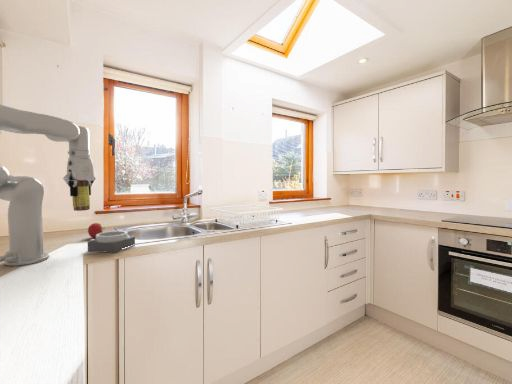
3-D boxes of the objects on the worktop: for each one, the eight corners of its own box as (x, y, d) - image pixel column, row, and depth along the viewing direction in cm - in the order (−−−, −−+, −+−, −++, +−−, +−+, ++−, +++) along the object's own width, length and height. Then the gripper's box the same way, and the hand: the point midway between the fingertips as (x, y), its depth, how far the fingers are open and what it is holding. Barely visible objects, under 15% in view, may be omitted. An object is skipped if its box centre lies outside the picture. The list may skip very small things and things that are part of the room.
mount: (114, 252, 108) (114, 237, 107) (87, 251, 110) (87, 236, 110) (134, 245, 121) (134, 231, 120) (110, 243, 123) (110, 230, 123)
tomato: (85, 222, 132) (102, 218, 136) (88, 229, 138) (104, 225, 142) (88, 235, 129) (105, 231, 133) (91, 242, 135) (107, 238, 139)
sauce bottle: (93, 209, 118) (92, 165, 117) (82, 211, 112) (81, 165, 111) (79, 209, 119) (78, 165, 118) (68, 211, 112) (67, 165, 112)
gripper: (69, 152, 105) (70, 197, 106) (102, 156, 122) (103, 194, 123) (53, 153, 106) (55, 196, 107) (88, 156, 123) (89, 194, 124)
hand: (80, 195), depth 115 cm, fingers closed on sauce bottle, 6 cm apart
